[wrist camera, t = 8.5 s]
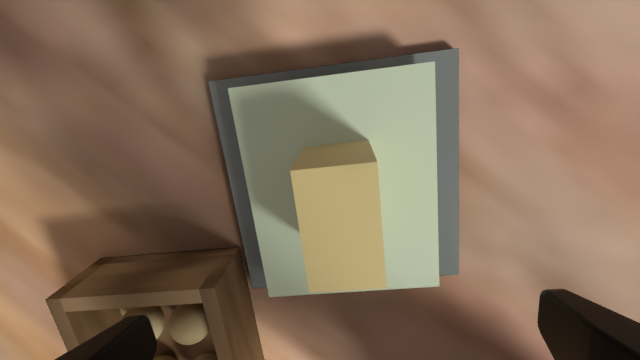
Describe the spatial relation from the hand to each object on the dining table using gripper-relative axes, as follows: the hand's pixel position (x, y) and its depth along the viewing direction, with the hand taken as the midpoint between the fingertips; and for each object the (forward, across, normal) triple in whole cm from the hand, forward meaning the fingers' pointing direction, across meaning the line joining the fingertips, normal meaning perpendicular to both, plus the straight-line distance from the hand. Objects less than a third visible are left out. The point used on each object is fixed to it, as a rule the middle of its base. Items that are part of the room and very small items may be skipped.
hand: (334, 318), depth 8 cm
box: (+11, +11, +9) cm, 18 cm away
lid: (+10, 0, 0) cm, 10 cm away
